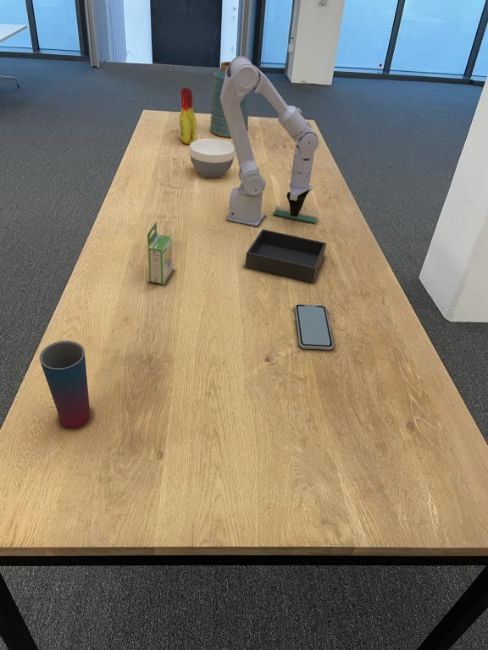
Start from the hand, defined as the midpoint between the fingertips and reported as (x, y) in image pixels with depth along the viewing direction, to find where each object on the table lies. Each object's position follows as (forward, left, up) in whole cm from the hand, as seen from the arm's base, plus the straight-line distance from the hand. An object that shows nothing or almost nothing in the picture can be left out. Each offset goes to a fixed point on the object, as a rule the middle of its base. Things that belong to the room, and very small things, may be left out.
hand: (295, 213), depth 155 cm
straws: (0, 0, -2) cm, 2 cm away
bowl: (-36, +21, -2) cm, 42 cm away
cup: (-17, -94, -2) cm, 96 cm away
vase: (-46, +67, -2) cm, 81 cm away
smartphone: (+17, -52, -2) cm, 55 cm away
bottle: (-57, +48, -2) cm, 75 cm away
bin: (+4, -27, -2) cm, 27 cm away
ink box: (-23, -47, -2) cm, 52 cm away
